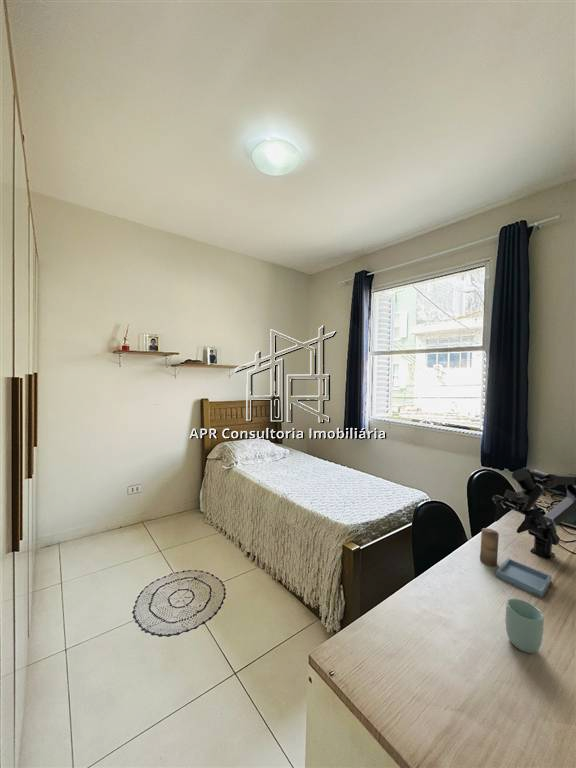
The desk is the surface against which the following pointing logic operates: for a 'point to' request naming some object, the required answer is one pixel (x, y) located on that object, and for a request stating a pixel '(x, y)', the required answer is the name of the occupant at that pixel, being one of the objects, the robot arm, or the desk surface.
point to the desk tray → (524, 577)
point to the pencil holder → (489, 547)
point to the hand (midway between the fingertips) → (505, 526)
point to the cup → (524, 625)
